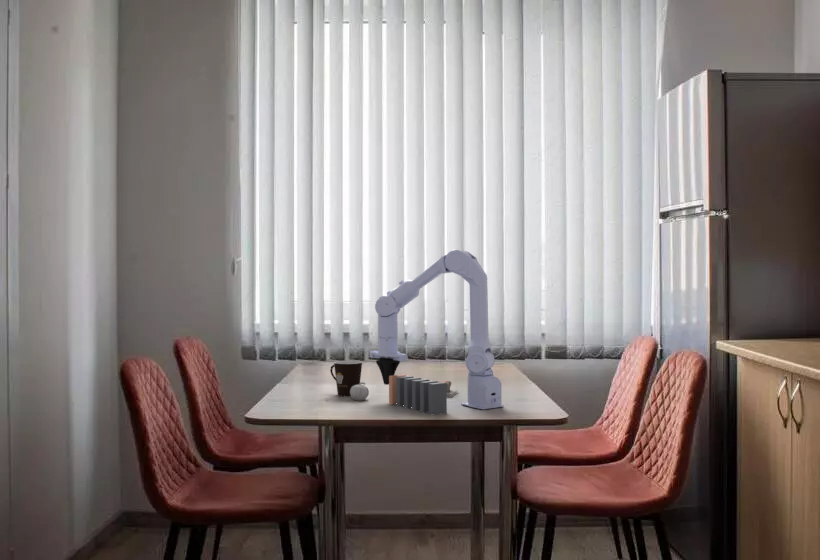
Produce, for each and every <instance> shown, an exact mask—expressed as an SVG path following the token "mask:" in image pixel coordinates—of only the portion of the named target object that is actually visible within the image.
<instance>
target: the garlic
mask: <svg viewBox="0 0 820 560" xmlns="http://www.w3.org/2000/svg"><path fill="white" fill-rule="evenodd" d="M369 392H370V391H369V388H368V387H367V386H366V382H361V381H360V383H359V385H354V386H352V388H351V389H350V395H351V396H350V397H351V398H352V400H354V399H355V401H364V400H366V399H367V398H368V396H369Z"/></svg>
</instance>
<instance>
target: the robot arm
mask: <svg viewBox="0 0 820 560" xmlns="http://www.w3.org/2000/svg"><path fill="white" fill-rule="evenodd" d="M451 273H453V274H455V275H458V276H460V277H461V278H463V280H465V281H466V282H467V283H468V284H469V319H470V320H469V322H470V325H469V326H470V328H469V329H470V341H469V345H468V354H467V357H466V359H465V366H466V369H467V370H468V371H467V402H461V403H460V405H461V406H465V407H470V408H475V409H478V410H489V409H494V408H502V407H505V406H504V404H502V402H503V401H502V382H501V380H500V379H499V378H498V377H497V376H495V375H494V370H493V369H492V368H493V366H494V364H495V359H496V358H495V356H494V353H493V351H492V344H491V342H490V337H489V294H488V292H489V291H488V276H487V274H486V272H485V270H484V269H483V267H482V265H481V264H480V262H479V261H478V258H477V257H476V256H474V255H473V254H472V253H470V252H469V251H466V250H459V249H453V250H450V251H449V252H448V253H447V254H444V255H443V256H440V257H439V258H438V259H437V260H436V261H434V262H433V263H432V264H431V265H429V267H428V266H427V268H426V269H425V270H423V271H422V272H421V273H420V274H419V275H417V276H416V277H415V278H414V279H412V280H411V279H406V280H401V281H399V283H398V284H399V285H398V286H396V287H395V288H393V289H392V290H389V291H388V290H387V292H386V295H382V296H379V298H378V299H377V300H376V301H375V304H374V305H375V306H374V309H375V312H376V313H377V350H370V351H369V358H370V359H371V358H372V359H373V358H375V359H377V360H375V363H376V365H377V366H378V368H379V371H380V373H381V374H380V375H381V377H382V381H383V384H384V385H387V386H389V376H393V375H396V371H397V368H398V367H399V365H400V363H401V362H407V361H408V355H407V353H402V352H401V351H399V349H398V348H399V343H398V341H399V338H398V337H399V336H398V333H399V332H398V331H399V330H398V328H399V327H398V326H399V324H398V314H399V312H400V311H401V309H402V308H403V307H406V306H407V305H408V304H409V303H410V302H411V301H413V300H415V299H416V298H417V297H419V294H420V290H421V289H422V288H424V287H425V286H426V285H427V284H429V283H431V282H432V281H433V280H436V278H438V277H440V276H441V275H442V274H443V275H444V274H451Z"/></svg>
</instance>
